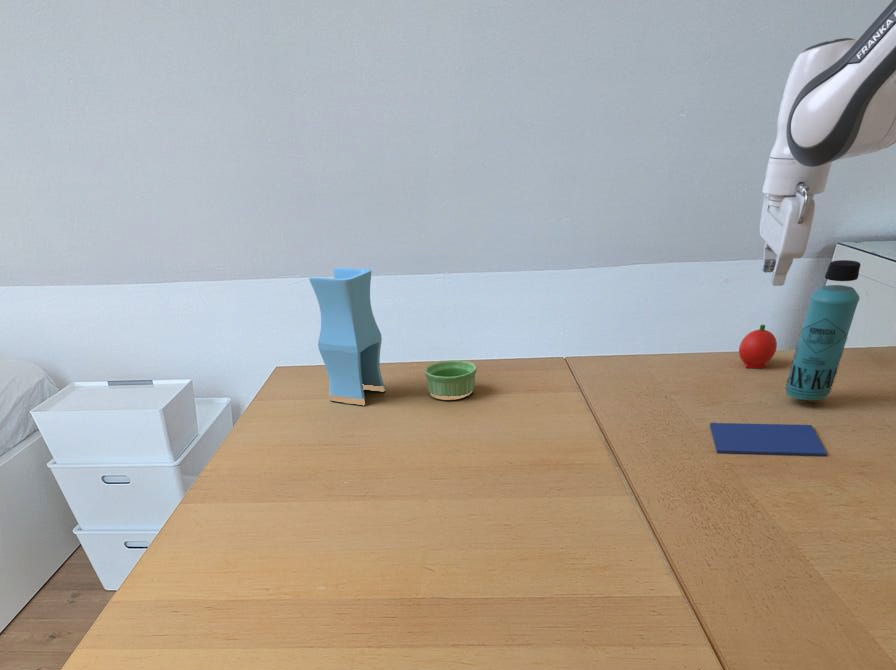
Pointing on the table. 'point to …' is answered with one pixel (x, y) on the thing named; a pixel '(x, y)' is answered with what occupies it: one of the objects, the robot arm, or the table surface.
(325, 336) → the vase
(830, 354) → the beverage bottle
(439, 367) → the ramekin
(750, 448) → the cloth
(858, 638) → the table surface
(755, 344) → the red ball with base
